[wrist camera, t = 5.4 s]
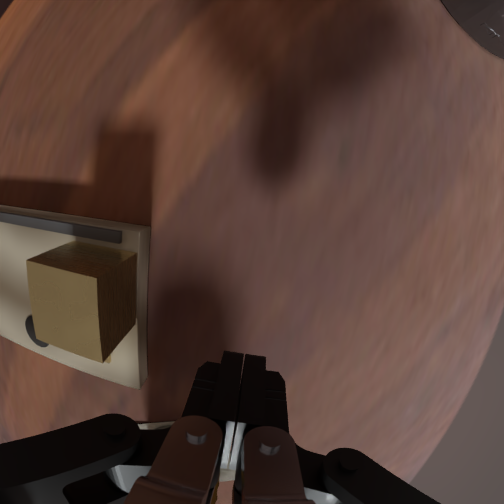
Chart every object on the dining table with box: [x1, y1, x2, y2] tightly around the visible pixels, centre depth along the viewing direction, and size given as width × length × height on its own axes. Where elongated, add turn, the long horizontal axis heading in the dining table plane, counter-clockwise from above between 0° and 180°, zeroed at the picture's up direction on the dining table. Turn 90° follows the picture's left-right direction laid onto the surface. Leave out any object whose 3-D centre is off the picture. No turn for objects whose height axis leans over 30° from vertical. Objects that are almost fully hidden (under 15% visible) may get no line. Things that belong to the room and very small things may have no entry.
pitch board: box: [0, 205, 151, 390], centre depth 16 cm, size 10×22×2 cm, turn 82°
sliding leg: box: [26, 241, 137, 363], centre depth 13 cm, size 7×4×4 cm, turn 172°
